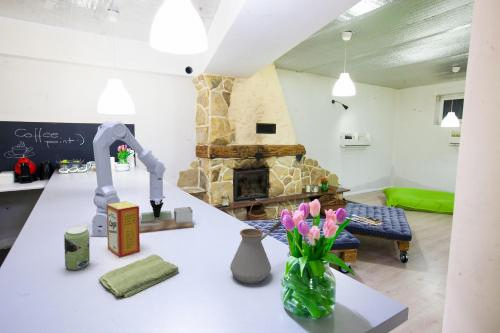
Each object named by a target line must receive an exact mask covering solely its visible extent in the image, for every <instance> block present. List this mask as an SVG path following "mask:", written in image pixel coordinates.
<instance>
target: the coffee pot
mask: <svg viewBox="0 0 500 333" xmlns="http://www.w3.org/2000/svg"><path fill="white" fill-rule="evenodd" d="M282 224H283V223H281V220H280V221H278V222H277V223H275V224H274V225H273V226H272V227H271V228H270V229H269V230H268V231H267V232H265V233H264V232H263V230H261V229H258V228H244V229H241V230H240V231H239V235H240V236H241V238H242V239H241V241H240V243H239V246H238V248H237V249H236V252H235V254H234V257H233V258H232V261H231V263H230V268H229V270H230V271H231V273H232V276H234V277H235V278H236V279H237V280H238V281H239V282H241V283H243V284H251V285H253V284H259V283H261V282H262V281H264V280H265V279H266V278H268V276H269V275H270V273H271V270H272V265H271V263H270V259H269V258H268V255H267V252H266V251H265V248H264V245H263V243H262V241H263V240H264V239H266V237H268V236H269V235H270V234H272V232H275V230H277V229H278V228H279V227H280V226H282Z"/></svg>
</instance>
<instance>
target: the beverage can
mask: <svg viewBox="0 0 500 333" xmlns="http://www.w3.org/2000/svg"><path fill="white" fill-rule="evenodd" d="M63 236H64V237H63V239H64V241H63V242H64V243H63V244H64V266H65V268H66V269H69V270H72V271H73V270H75V271H76V270H80V269H83V268H84V267H86V266H87V265H89V264H90V258H91V256H90V255H91V254H90V230H89V229H88V228H87V226H85V225H73V226H71V227H68V228H67V229H66V231H65V233H64V235H63Z"/></svg>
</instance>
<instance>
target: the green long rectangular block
mask: <svg viewBox="0 0 500 333" xmlns="http://www.w3.org/2000/svg"><path fill="white" fill-rule="evenodd" d="M140 216H141V220H152V219H159V220H167V219H172V211H171V210H163V211H162V210H161V212H160V217H156V218H155V217H154V213H153V211H152V212H141V215H140Z"/></svg>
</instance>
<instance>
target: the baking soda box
mask: <svg viewBox="0 0 500 333" xmlns="http://www.w3.org/2000/svg"><path fill="white" fill-rule="evenodd" d="M139 217H140V205H137V204H134V203H132V202H130V201H127V200H126V201H120V202H118V203H112V204H107V234H108V236H107V250H108V251H110V252H111V253H112V254H113V255H115V256H117V258H119V259H122V258H123V257H127V256H130V255H131V256H132V255H135V254H137V253H140V251H141V248H140V247H141V246H140V237H141V236H140V233H139Z"/></svg>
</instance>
